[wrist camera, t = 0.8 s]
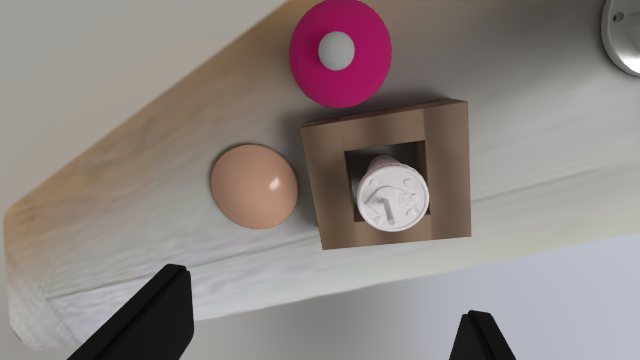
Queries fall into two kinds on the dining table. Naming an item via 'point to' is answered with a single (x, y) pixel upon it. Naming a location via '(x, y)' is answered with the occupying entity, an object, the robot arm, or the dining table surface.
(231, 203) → the tan round disc
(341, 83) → the pepper mill
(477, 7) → the dining table surface
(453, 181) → the bottle holder
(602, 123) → the dining table surface
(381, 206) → the smoothie
